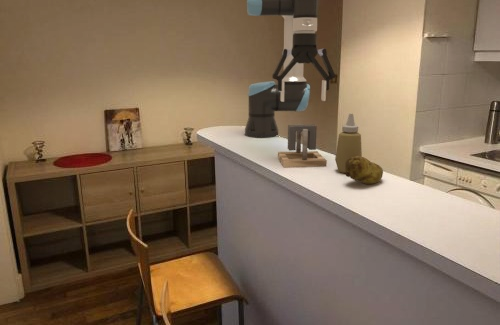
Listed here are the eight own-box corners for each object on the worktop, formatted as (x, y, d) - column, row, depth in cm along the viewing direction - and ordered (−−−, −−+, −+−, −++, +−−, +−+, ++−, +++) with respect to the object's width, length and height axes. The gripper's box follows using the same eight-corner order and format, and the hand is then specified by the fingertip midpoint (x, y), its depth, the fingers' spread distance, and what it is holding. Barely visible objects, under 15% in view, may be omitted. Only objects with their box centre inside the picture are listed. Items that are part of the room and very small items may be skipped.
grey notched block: (289, 150, 137) (289, 126, 135) (287, 148, 140) (288, 125, 138) (315, 149, 138) (316, 126, 136) (313, 147, 141) (314, 124, 139)
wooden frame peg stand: (277, 157, 146) (278, 123, 143) (316, 156, 147) (318, 123, 144) (283, 167, 133) (284, 130, 130) (326, 166, 135) (328, 129, 131)
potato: (392, 185, 115) (395, 157, 113) (350, 189, 112) (352, 160, 110) (376, 177, 123) (379, 150, 121) (337, 180, 120) (338, 153, 118)
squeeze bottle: (361, 175, 124) (365, 116, 119) (334, 174, 126) (337, 115, 121) (360, 168, 132) (364, 112, 127) (334, 167, 133) (337, 111, 129)
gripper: (266, 32, 125) (266, 102, 130) (347, 32, 127) (343, 101, 132) (263, 33, 132) (263, 100, 138) (340, 33, 134) (336, 99, 140)
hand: (302, 101), depth 135 cm, fingers open, 13 cm apart
